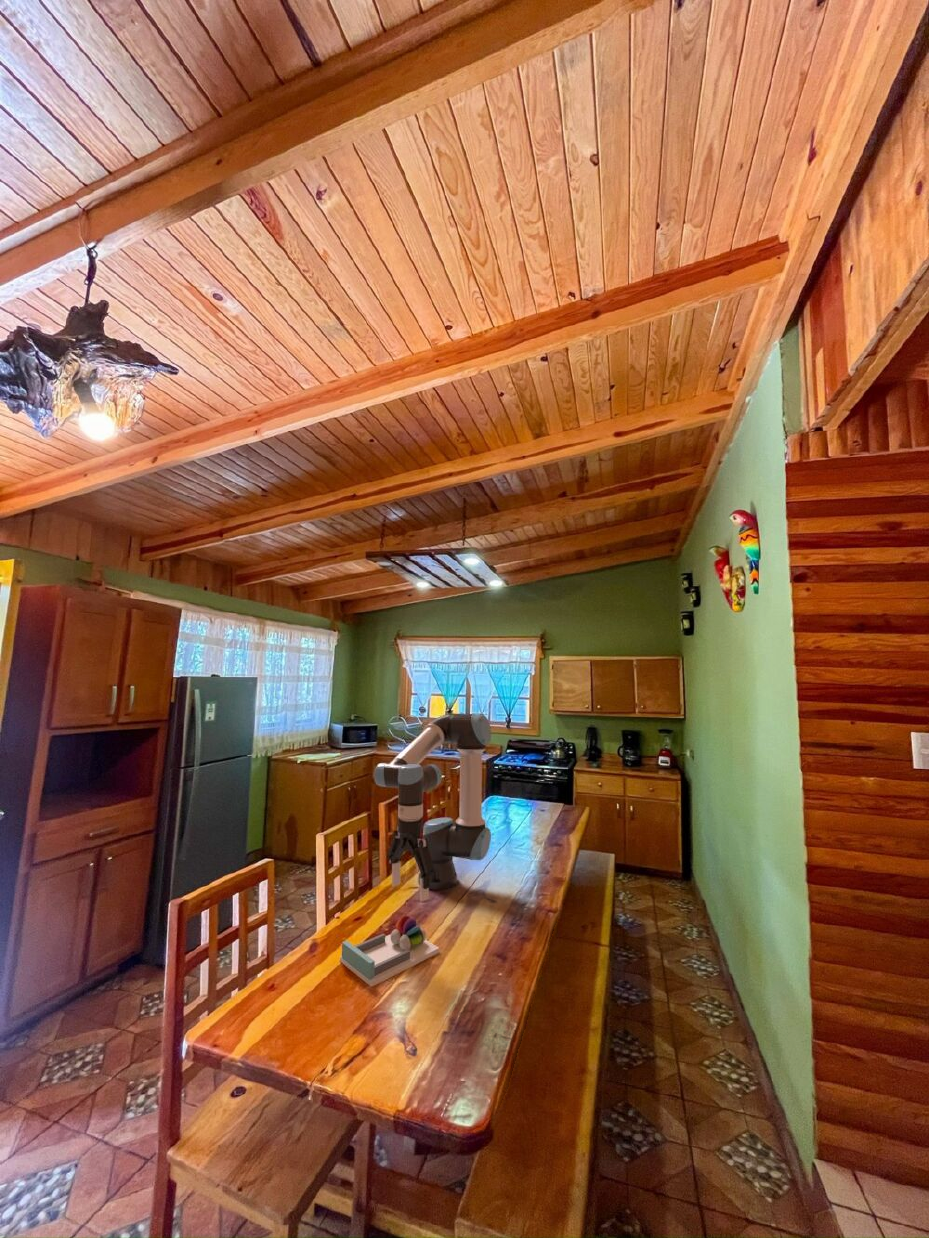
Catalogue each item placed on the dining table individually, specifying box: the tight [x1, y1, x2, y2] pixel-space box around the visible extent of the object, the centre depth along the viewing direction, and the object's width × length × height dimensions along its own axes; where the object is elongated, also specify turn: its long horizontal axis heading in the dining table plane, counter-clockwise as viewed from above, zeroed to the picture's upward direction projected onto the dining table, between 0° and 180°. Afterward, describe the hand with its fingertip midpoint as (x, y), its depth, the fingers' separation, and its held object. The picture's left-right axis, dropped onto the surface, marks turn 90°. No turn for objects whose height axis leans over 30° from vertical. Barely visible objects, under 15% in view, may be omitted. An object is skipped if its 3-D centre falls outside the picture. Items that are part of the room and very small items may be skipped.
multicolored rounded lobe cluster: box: [390, 915, 427, 951], centre depth 143 cm, size 8×10×7 cm
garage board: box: [339, 933, 440, 988], centre depth 138 cm, size 23×16×5 cm
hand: (409, 892), depth 144 cm, fingers open, 13 cm apart
